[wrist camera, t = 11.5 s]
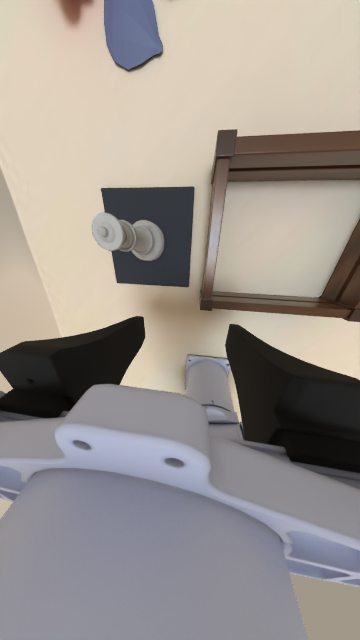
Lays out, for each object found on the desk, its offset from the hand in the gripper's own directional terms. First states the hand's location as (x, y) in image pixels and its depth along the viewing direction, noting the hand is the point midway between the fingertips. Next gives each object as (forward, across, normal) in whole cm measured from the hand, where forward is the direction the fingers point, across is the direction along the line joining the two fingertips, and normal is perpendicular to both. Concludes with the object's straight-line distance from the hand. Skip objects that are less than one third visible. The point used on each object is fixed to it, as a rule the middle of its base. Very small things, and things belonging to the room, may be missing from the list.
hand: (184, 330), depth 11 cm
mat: (+10, +6, -7) cm, 14 cm away
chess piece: (+10, +6, -7) cm, 14 cm away
